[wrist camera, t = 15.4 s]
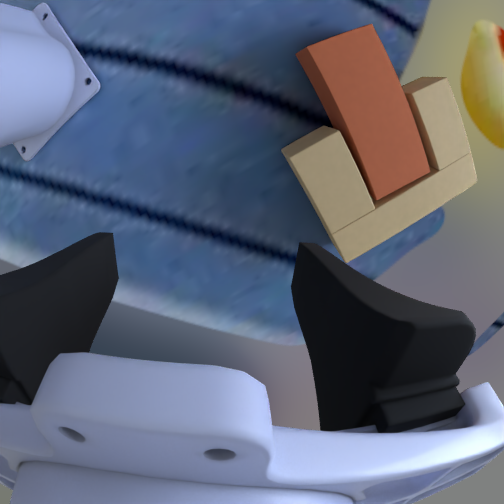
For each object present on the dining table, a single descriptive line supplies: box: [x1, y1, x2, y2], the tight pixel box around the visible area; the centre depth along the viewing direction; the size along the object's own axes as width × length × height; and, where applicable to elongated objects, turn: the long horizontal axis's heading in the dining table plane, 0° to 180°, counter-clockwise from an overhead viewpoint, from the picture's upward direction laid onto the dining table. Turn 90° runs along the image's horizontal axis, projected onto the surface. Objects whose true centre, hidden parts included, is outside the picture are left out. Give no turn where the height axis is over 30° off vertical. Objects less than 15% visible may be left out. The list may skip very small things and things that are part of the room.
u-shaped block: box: [281, 77, 477, 263], centre depth 18 cm, size 8×12×3 cm, turn 121°
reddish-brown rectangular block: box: [295, 24, 430, 200], centre depth 17 cm, size 10×4×3 cm, turn 29°
